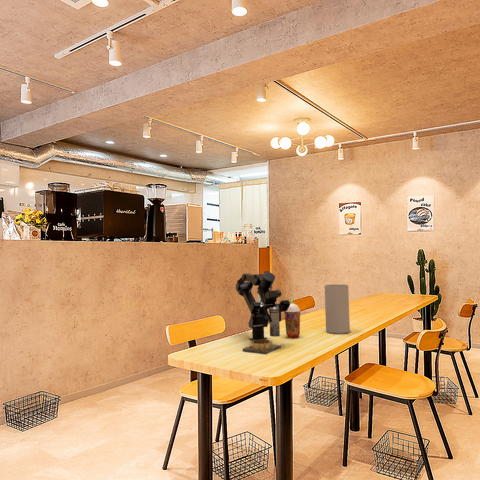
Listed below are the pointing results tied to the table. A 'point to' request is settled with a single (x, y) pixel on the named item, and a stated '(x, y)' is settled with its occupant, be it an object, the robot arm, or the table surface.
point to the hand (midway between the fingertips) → (275, 321)
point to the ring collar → (261, 346)
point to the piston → (274, 321)
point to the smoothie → (292, 320)
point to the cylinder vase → (337, 309)
